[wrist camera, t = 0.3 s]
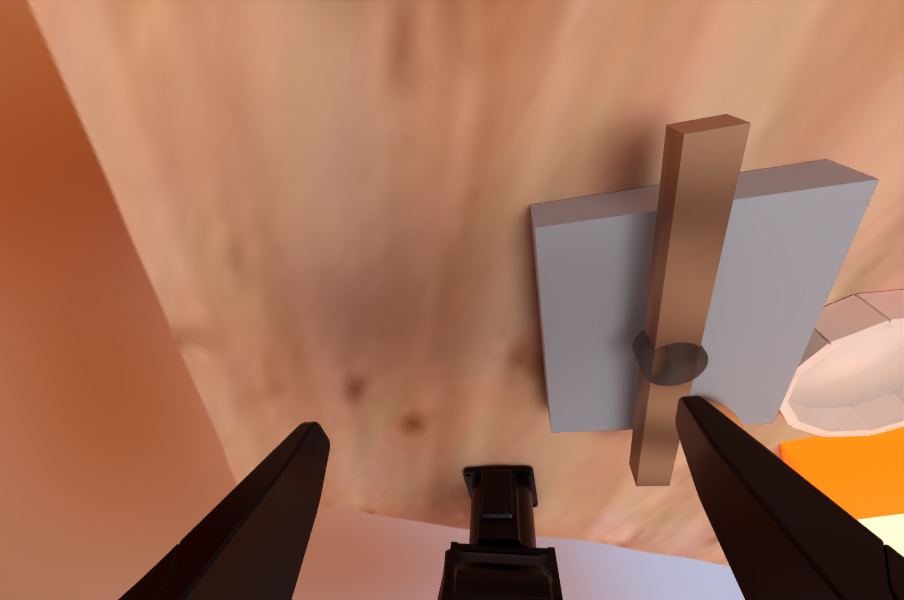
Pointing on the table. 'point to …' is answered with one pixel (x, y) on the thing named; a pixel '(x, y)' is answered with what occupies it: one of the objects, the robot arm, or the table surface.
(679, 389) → the lever
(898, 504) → the orange juice
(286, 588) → the robot arm
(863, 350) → the bowl
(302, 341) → the table surface
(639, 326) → the board
